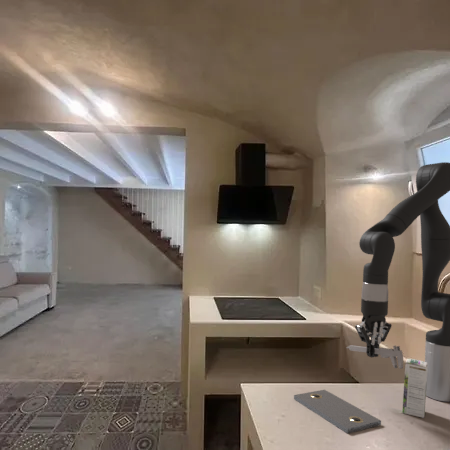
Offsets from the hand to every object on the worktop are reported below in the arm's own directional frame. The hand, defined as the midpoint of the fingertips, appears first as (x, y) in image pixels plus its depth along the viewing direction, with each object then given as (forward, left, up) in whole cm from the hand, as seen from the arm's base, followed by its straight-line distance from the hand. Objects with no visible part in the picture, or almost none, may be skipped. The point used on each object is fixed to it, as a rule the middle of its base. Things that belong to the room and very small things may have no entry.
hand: (372, 356), depth 117 cm
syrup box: (-9, +8, -15) cm, 19 cm away
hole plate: (+13, -1, -15) cm, 20 cm away
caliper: (0, 0, -1) cm, 1 cm away
